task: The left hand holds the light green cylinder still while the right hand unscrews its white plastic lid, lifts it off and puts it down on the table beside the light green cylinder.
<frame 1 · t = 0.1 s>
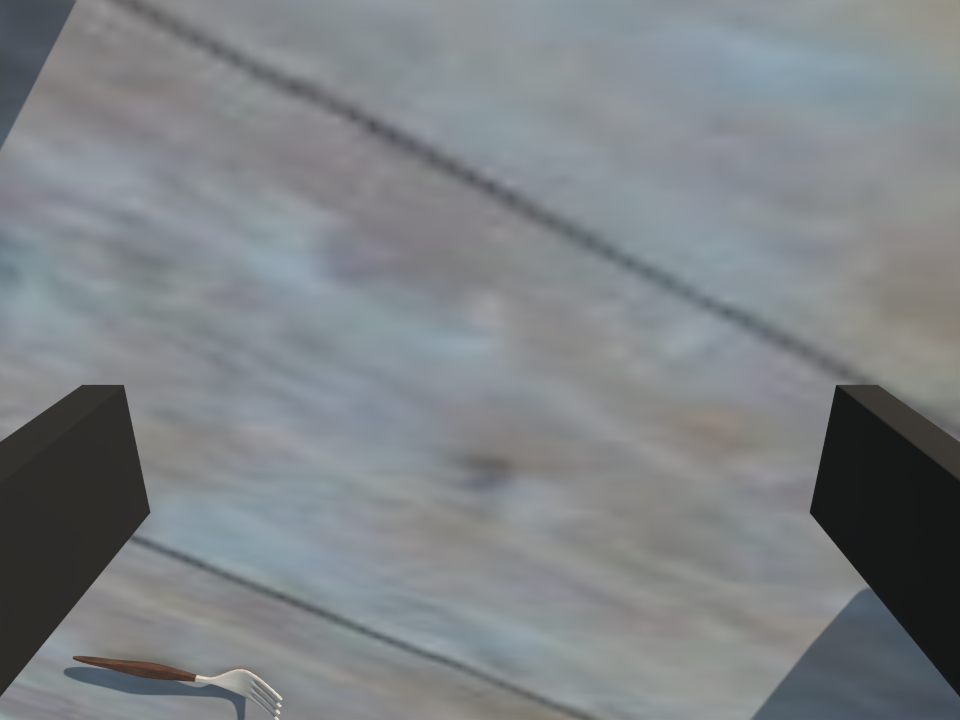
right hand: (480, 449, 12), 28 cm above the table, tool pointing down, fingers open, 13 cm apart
fork: (184, 668, 51), on the table
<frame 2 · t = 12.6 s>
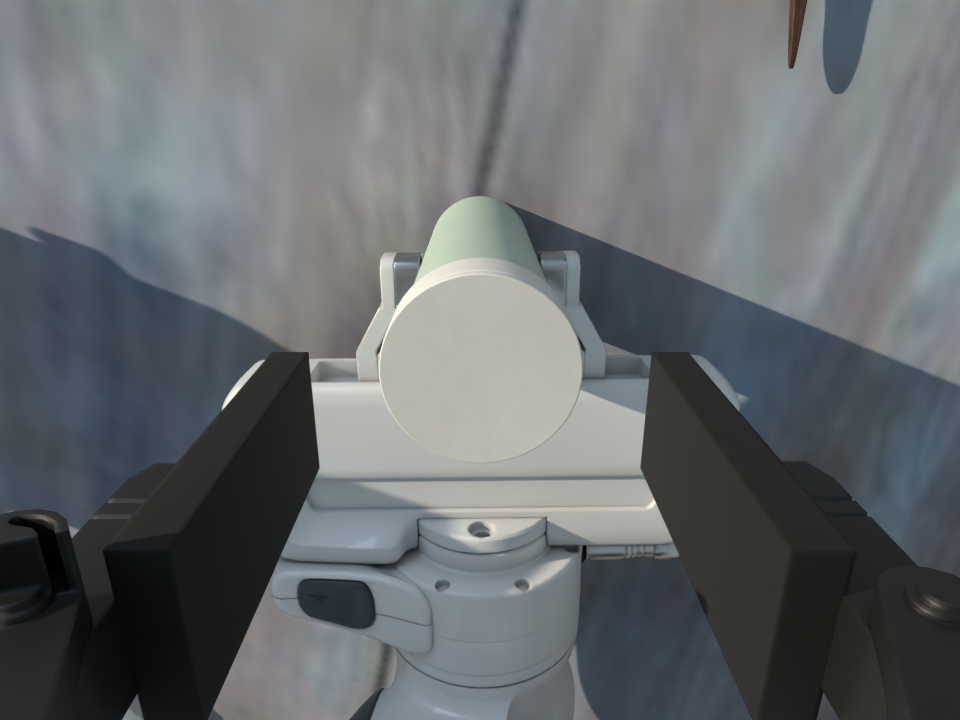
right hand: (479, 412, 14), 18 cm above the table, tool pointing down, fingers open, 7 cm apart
left hand: (478, 254, 25), fingers closed on light green cylinder, 4 cm apart
lid: (480, 368, 16), point 16 cm above the table, screwed on, not yet turned
light green cylinder: (480, 245, 31), on the table, touching left hand
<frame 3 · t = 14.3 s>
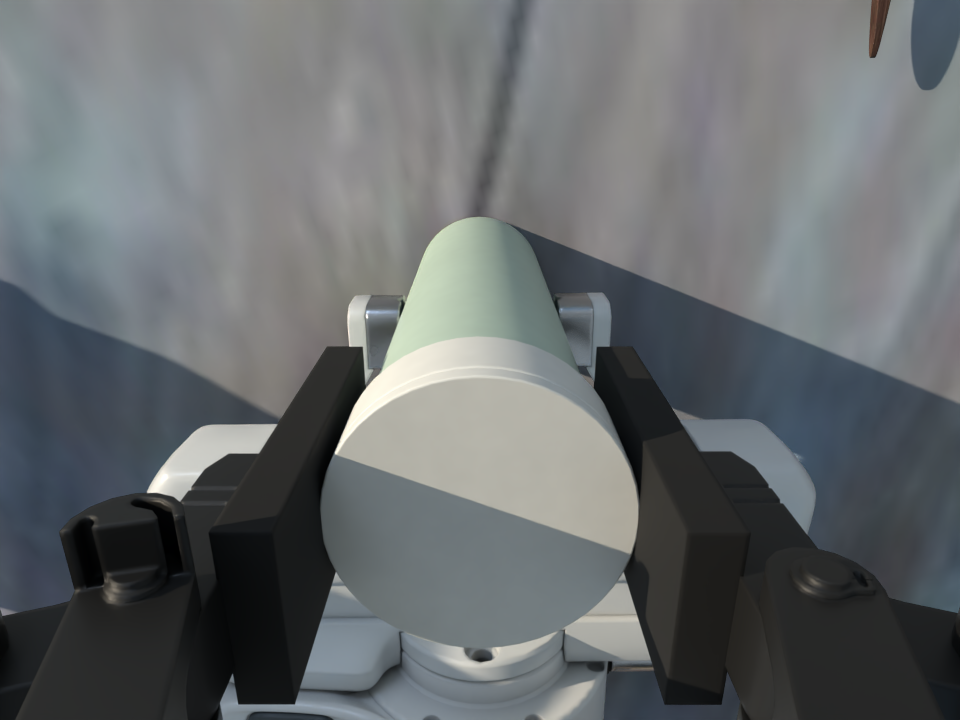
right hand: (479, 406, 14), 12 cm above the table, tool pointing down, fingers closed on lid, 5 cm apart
lid: (479, 511, 11), point 16 cm above the table, screwed on, not yet turned, touching right hand
light green cylinder: (479, 276, 25), on the table, touching left hand
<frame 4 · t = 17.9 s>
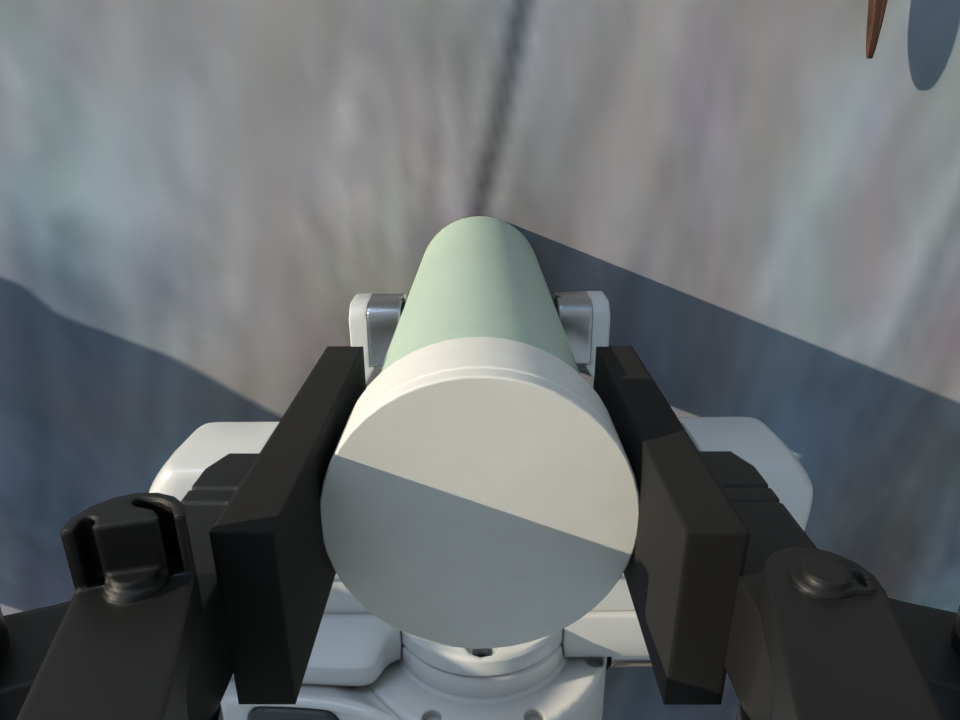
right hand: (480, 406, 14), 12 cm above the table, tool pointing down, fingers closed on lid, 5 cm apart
lid: (479, 511, 11), point 16 cm above the table, turned 124° so far, risen 0.2 cm, still on its thread, touching right hand
light green cylinder: (479, 275, 25), on the table, touching left hand
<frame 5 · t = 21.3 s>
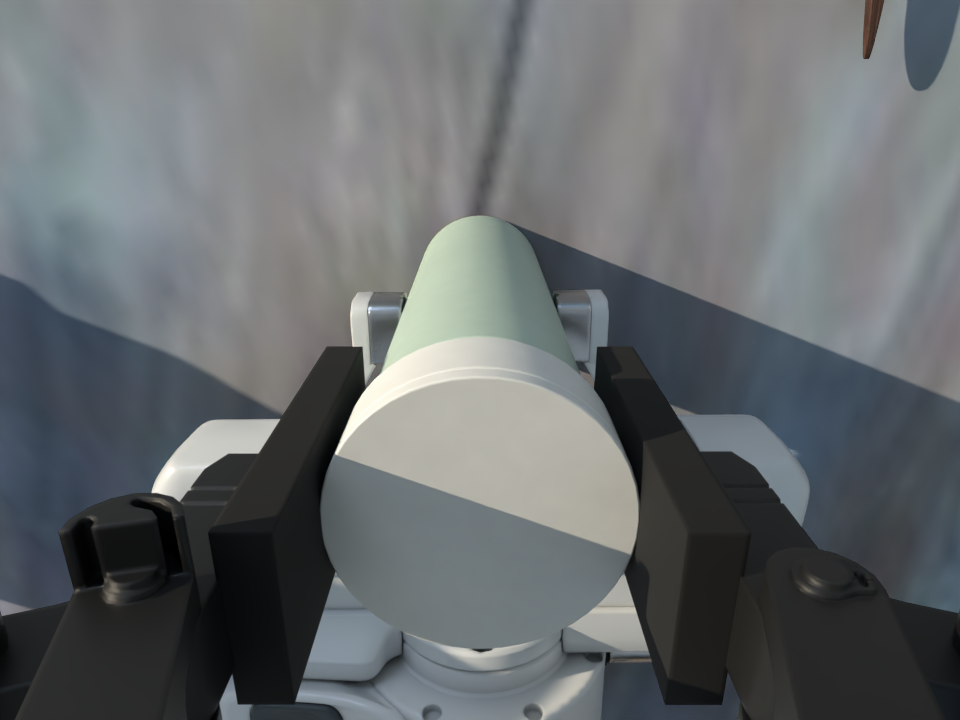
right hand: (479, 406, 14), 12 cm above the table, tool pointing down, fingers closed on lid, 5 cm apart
lid: (479, 512, 11), point 16 cm above the table, turned 248° so far, risen 0.4 cm, still on its thread, touching right hand
light green cylinder: (479, 274, 26), on the table, touching left hand
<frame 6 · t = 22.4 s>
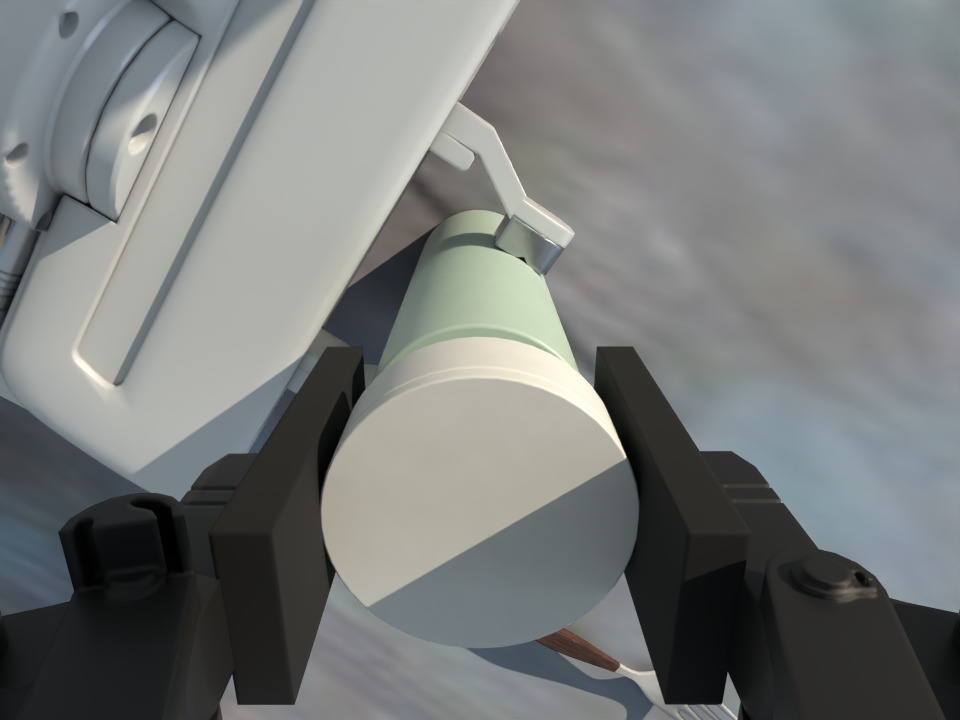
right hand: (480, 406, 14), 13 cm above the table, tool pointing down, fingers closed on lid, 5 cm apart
left hand: (503, 330, 20), fingers closed on light green cylinder, 4 cm apart
lid: (479, 511, 11), point 17 cm above the table, off its thread, touching right hand
light green cylinder: (477, 268, 26), on the table, touching left hand
fork: (595, 647, 33), on the table
when the right hand's fingers open (0 cm above the table, at t = 28.4 s): lid drops 3 cm, point 1 cm above the table.
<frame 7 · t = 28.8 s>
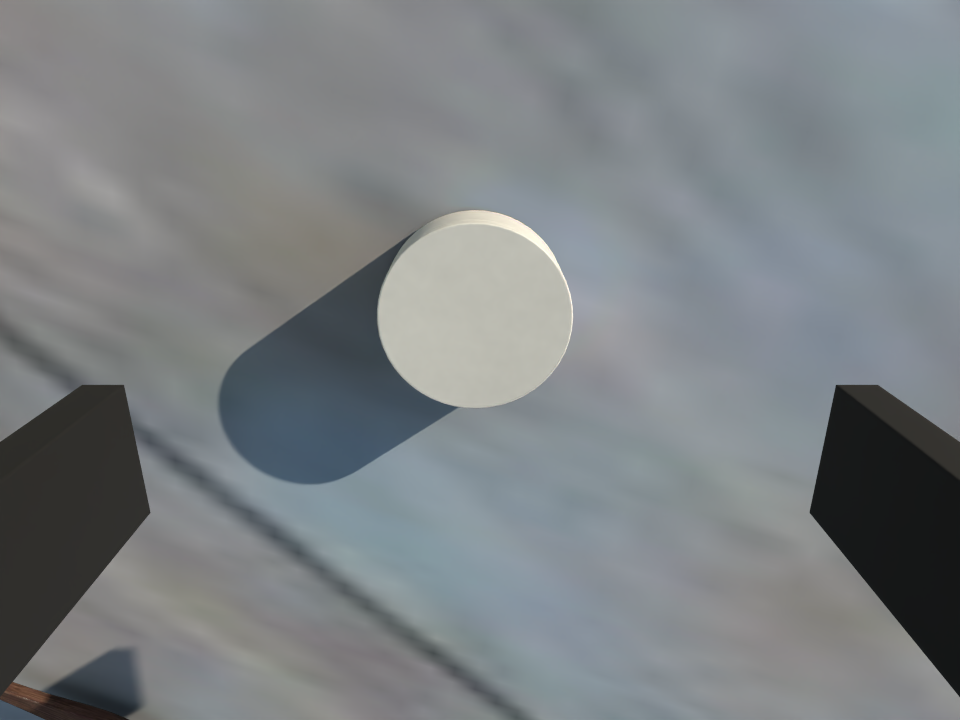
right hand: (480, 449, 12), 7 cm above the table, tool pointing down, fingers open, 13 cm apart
lid: (474, 316, 17), point 1 cm above the table, off its thread
when the left hand's fingers open (6 cm above the table, at t = 29.0 s): light green cylinder stays where it is, on the table.
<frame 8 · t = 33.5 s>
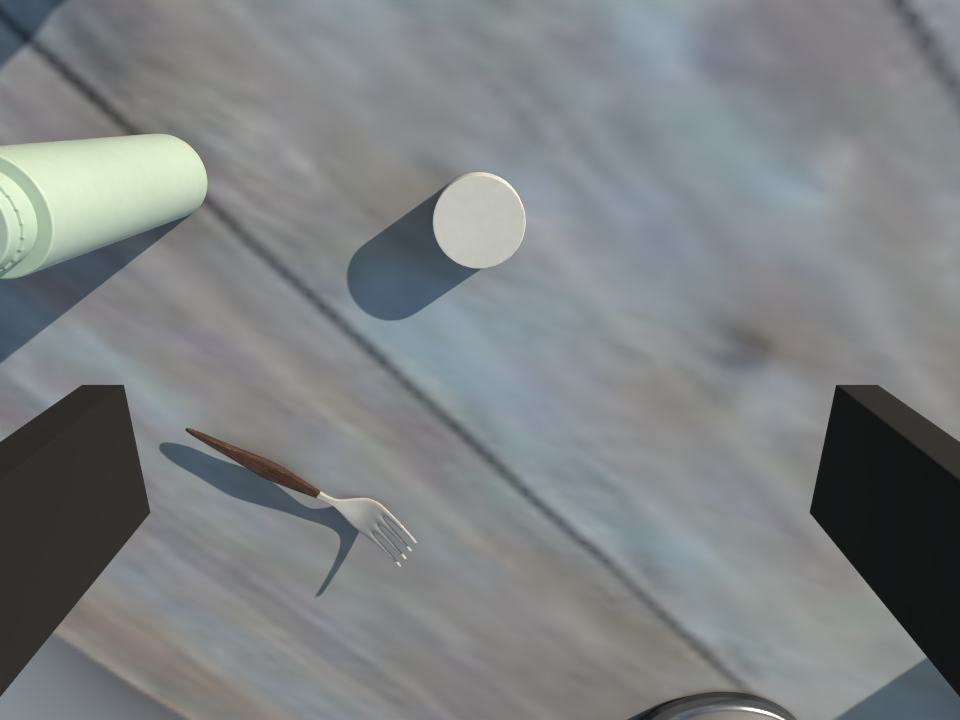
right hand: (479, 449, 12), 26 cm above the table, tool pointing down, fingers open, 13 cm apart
lid: (479, 222, 36), point 1 cm above the table, off its thread
light green cylinder: (166, 177, 36), on the table
fork: (305, 481, 43), on the table
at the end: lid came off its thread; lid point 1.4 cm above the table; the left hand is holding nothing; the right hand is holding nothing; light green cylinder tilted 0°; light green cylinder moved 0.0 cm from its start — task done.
